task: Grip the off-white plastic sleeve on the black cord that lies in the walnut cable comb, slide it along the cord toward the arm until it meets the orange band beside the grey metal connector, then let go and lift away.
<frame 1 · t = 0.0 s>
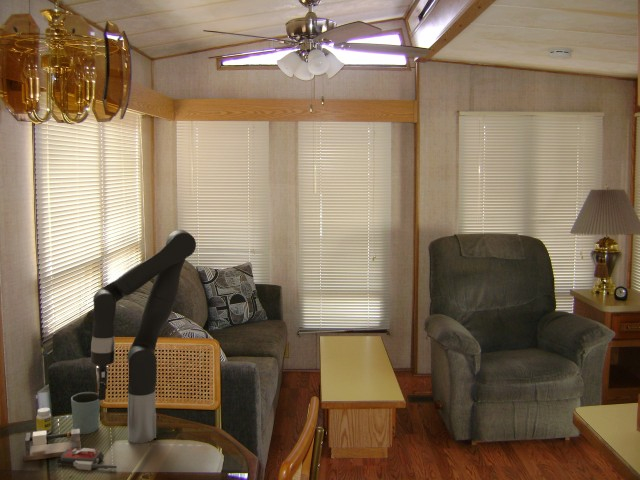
hand: (101, 395, 213), 17 cm above the table, tool pointing down, fingers open, 8 cm apart
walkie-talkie: (89, 465, 201), on the table
sleeve: (39, 438, 205), point 5 cm above the table, slide at 0.0 cm
supplement bottle: (44, 433, 221), on the table
blue-grey cylindrical pot: (86, 429, 226), on the table
cable comb: (53, 452, 207), on the table
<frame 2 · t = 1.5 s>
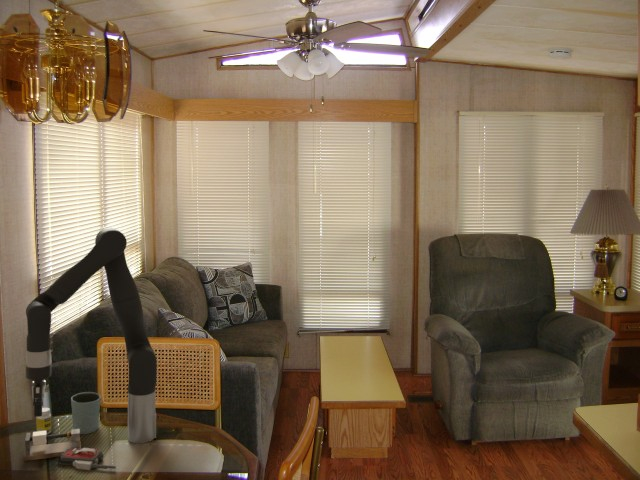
hand: (38, 411, 204), 15 cm above the table, tool pointing down, fingers open, 8 cm apart
nothing on the table moved.
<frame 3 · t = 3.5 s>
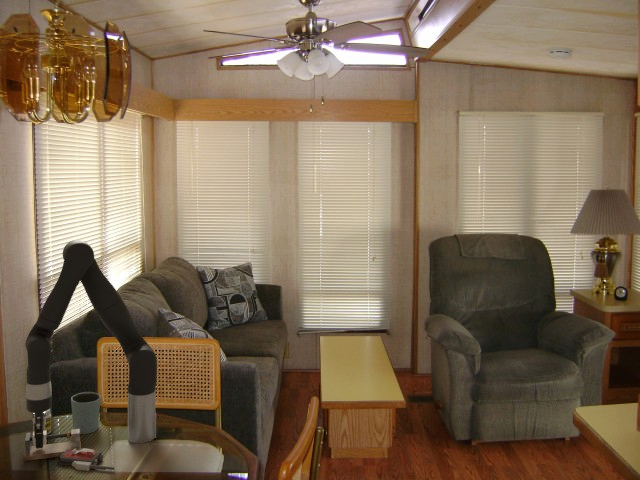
hand: (39, 444, 205), 3 cm above the table, tool pointing down, fingers closed on sleeve, 3 cm apart
sleeve: (39, 438, 205), point 5 cm above the table, slide at 0.0 cm, touching gripper
everything else where it was.
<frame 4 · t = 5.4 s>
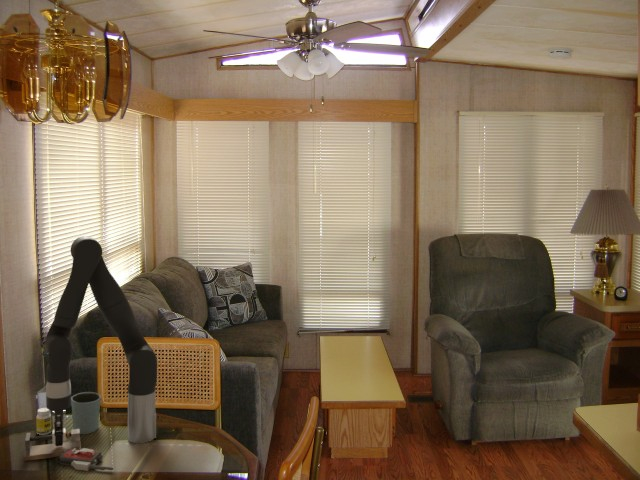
hand: (59, 442, 207), 3 cm above the table, tool pointing down, fingers closed on sleeve, 3 cm apart
sleeve: (59, 436, 207), point 5 cm above the table, slide at 5.9 cm, touching gripper
everything else where it was.
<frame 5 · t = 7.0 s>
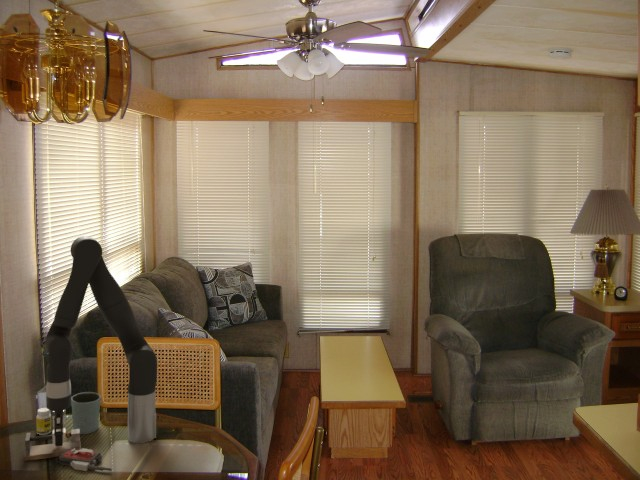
hand: (59, 440, 207), 4 cm above the table, tool pointing down, fingers open, 8 cm apart
sleeve: (59, 436, 207), point 5 cm above the table, slide at 5.9 cm
everything else where it was.
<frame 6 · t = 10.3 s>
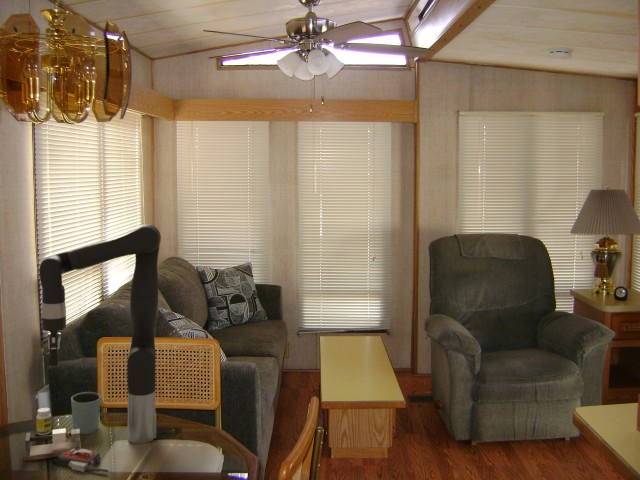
hand: (54, 361, 212), 28 cm above the table, tool pointing down, fingers open, 8 cm apart
at the end: sleeve slide at 5.9 cm; the gripper is holding nothing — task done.
